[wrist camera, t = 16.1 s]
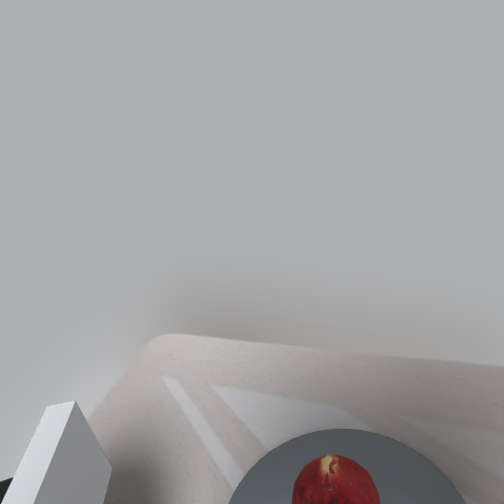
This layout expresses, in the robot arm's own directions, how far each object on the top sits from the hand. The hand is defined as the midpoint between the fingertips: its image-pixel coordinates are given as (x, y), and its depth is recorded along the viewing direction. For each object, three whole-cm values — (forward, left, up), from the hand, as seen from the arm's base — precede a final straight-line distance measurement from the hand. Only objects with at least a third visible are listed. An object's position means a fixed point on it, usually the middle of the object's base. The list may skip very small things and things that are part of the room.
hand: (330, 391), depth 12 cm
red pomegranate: (0, -10, -24) cm, 26 cm away
